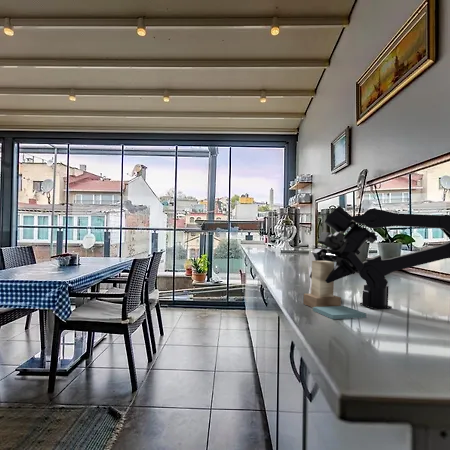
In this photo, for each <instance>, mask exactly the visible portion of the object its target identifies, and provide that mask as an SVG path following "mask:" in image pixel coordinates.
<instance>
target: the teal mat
mask: <svg viewBox="0 0 450 450" xmlns="http://www.w3.org/2000/svg"><path fill="white" fill-rule="evenodd" d="M312 311H313V312H316V313H318V314H320V315H322V316H325V317H327V318H328V319H331V320H339V319H340V320H343V319H359V318H360V319H361V318H367V313H365V312H363V311H360V310H357V309H354V308H352V307H348V306H346V305H341V306H326V307H313V308H312Z"/></svg>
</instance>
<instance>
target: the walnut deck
mask: <svg viewBox="0 0 450 450" xmlns="http://www.w3.org/2000/svg"><path fill="white" fill-rule="evenodd" d="M302 304H303V305H306V306H308V307H310V308H312V309H313V307H326V306H342V297H340V296H336V295H335V294H333V297H317V296H314V295H312V294H309V293H303V303H302Z"/></svg>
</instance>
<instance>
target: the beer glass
mask: <svg viewBox="0 0 450 450" xmlns="http://www.w3.org/2000/svg"><path fill="white" fill-rule="evenodd" d="M313 251H314V250H309V251H308V259H307V268H308V276H309V290H308V294H311V283H312V279H311V278H310V274H311V272H312V261H315V257H314V255H313V254H312V252H313ZM326 251H327V252H328V253H329V254H330V252H329V251H328V250H326Z"/></svg>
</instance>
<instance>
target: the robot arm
mask: <svg viewBox="0 0 450 450" xmlns="http://www.w3.org/2000/svg"><path fill="white" fill-rule="evenodd" d="M324 223H325V224H326V225H327V226H328V227H329V228H331V229H332V230H334V231H335V232H334V233H333V232H328V231H327V232H325V231H324V232H323V231H322V232H321V234H320V236H319V238H318V240H317V242H318V243H319V244H322V245H324V246H325V247H327V248H326V249H327V250H326V249H325V248H315V249H314V250H312V251H313V252H312V254H313V255H314V257H315V261H330V262H334V263H335V265H334V269H333V270H332V271H331V273H330V274H329V275H328V277H327V278H326V280H325V281H326V282H327V283H330V282H333V281H338V280H340V279H343V278H346V277H348V276H351V275H355V274H356V273H358V274H359V276H360V278H361V279H362V280H364V281H365V282H366V284H363V289H362V298H361V299H362V302H359V305H361V306H363V307H367V308H370V309H373V310H377V309H379V310H382V309H393V306H392V305H389V286H388V283H389V281H388V279H387V277H386V276H388V275H390V274H391V273H393V272H396V271H400V270H405V269H410V268H413V267H417V266H422V265H425V264H430V263H433V262H438V261H441V260H447V259H450V214H442V215H441V214H440V215H439V214H421V213H420V214H415V213H396V212H392V211H388V210H384V209H379V208H369V209H367V210H366V211H365V212H364V213H363V214H360V215H359V214H358V215H354V216H352V215H351V214H350V213H348V212H347V211H346V210H345V209H343V207H341V206H340V205H339V206H337V208H335V209H334V210H333V211H332V212H331V213H330V214H329V215H328V216H327V217H326V218H325V220H324ZM360 225H364V226H360ZM391 227H404V228H405V227H406V228H429V229H440V230H441V231H442V232H443V233H444V235H446V237H447V238H448V239H449V240H448V241H446V242H445V243H442V244H440V245H437V246H433V247H429V248H426V249H421V250H418V251H417V250H416V251H414V252H410V253H405V254H402V255H398V256H395V257H391V258H382V256H381V254H378V255H376V256H374V257H366V258H365V260H364V261H362V259H361V258H360V256H359V255H360V253H361V251H360V249H361V248H362V247H363V246H364V244H366V242H369V243H370V244H374V243H375V242H376V241H377V240H378V239H377V235H376V232H375V231H373V232H372V231H370V230H368V229H382V228H391ZM348 229H350V230H349V231H348ZM346 232H347V233H346ZM345 233H346V234H345ZM344 234H345V235H344ZM327 251H328V252H329V253H328V252H327ZM310 278H311V279H312V272H311V274H310V277H309V279H310Z"/></svg>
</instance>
